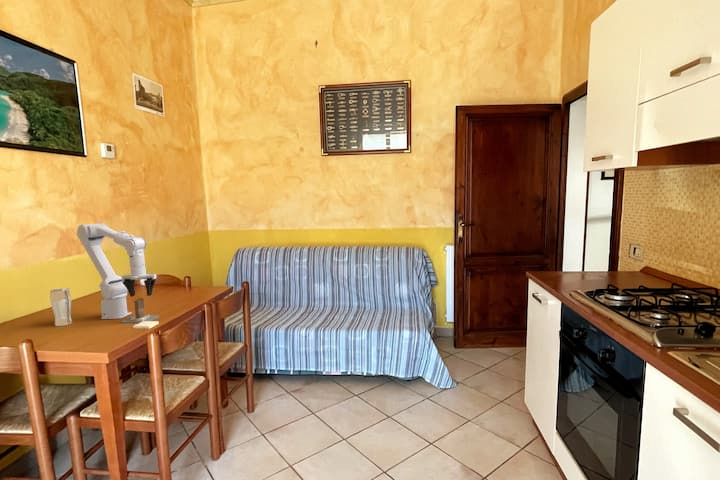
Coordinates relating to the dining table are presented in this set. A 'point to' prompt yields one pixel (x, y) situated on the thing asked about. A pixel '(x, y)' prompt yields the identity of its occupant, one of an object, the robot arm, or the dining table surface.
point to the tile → (145, 324)
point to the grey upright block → (139, 310)
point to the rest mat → (139, 321)
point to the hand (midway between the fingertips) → (141, 295)
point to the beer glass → (61, 306)
